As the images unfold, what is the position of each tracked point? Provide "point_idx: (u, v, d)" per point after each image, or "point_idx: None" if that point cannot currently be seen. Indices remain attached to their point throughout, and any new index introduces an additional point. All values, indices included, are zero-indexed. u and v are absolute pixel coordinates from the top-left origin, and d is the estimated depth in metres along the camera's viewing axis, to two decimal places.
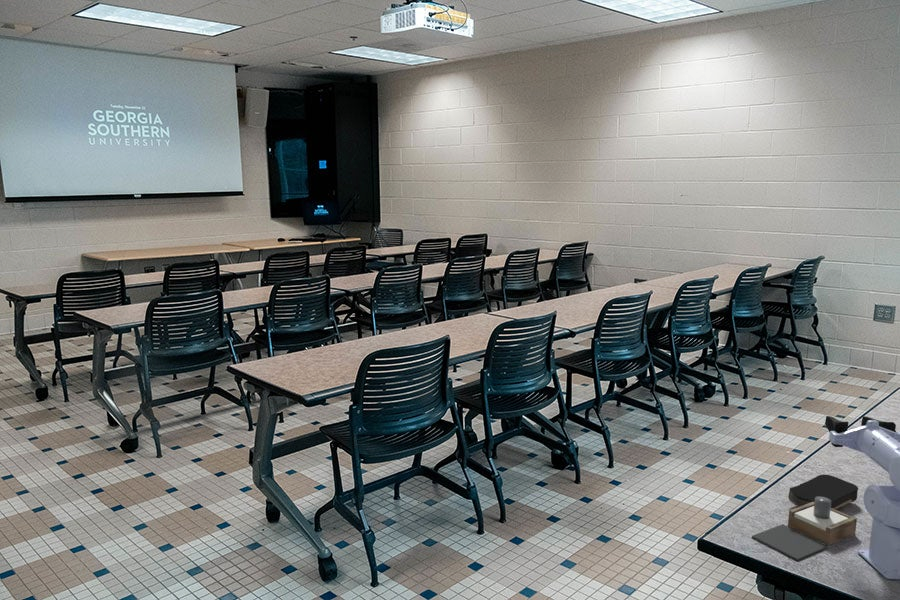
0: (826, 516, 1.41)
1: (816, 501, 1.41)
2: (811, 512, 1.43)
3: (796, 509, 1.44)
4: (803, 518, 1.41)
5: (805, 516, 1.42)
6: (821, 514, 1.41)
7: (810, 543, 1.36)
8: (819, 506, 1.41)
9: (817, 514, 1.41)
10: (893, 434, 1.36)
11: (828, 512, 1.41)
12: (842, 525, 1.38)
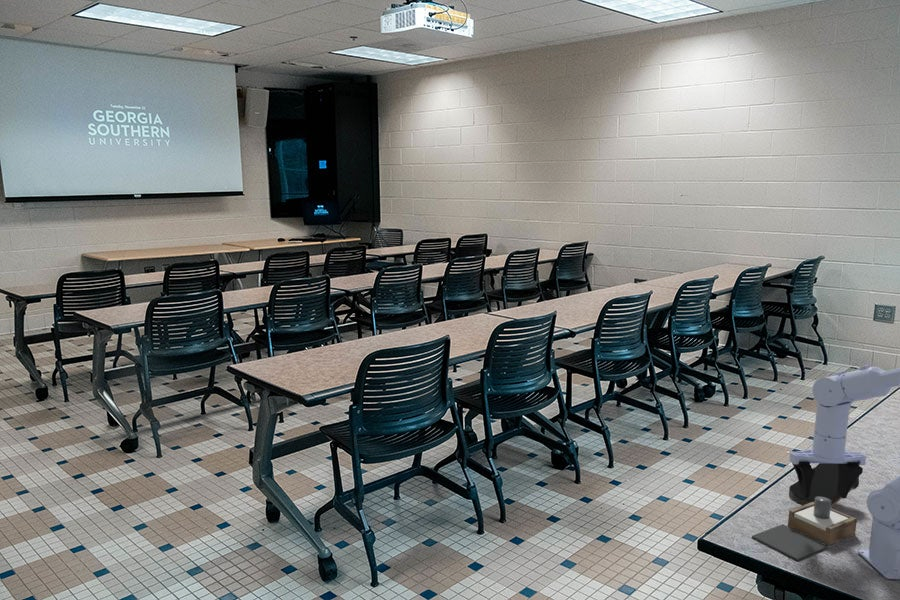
0: (826, 516, 1.41)
1: (816, 501, 1.41)
2: (811, 512, 1.43)
3: (796, 509, 1.44)
4: (803, 518, 1.41)
5: (805, 516, 1.42)
6: (821, 514, 1.41)
7: (810, 543, 1.36)
8: (819, 506, 1.41)
9: (817, 514, 1.41)
10: (846, 453, 1.41)
11: (828, 512, 1.41)
12: (842, 525, 1.38)
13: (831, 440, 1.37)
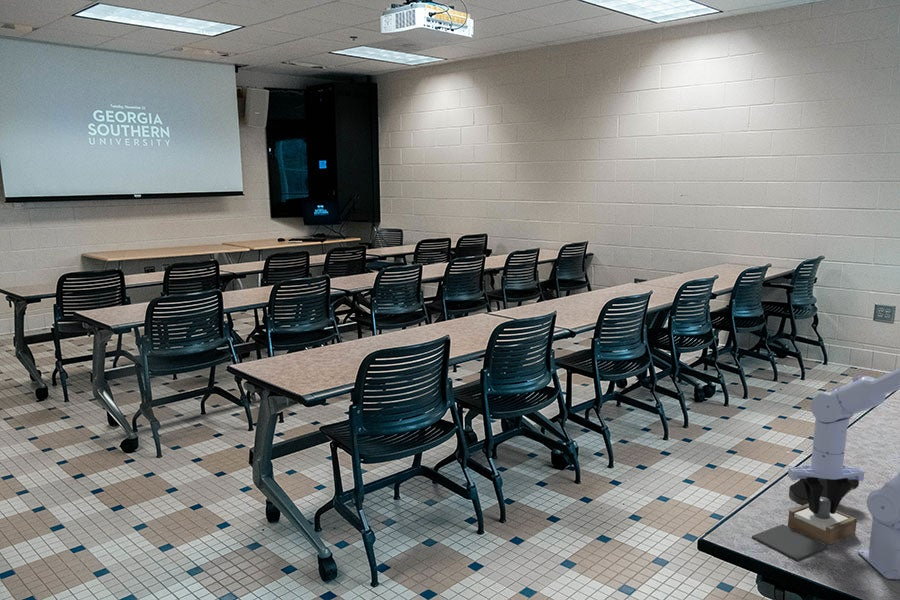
0: (826, 516, 1.41)
1: None
2: (811, 512, 1.43)
3: (796, 509, 1.44)
4: (803, 518, 1.41)
5: (805, 516, 1.42)
6: (821, 514, 1.41)
7: (810, 543, 1.36)
8: (819, 506, 1.41)
9: (817, 514, 1.41)
10: (844, 468, 1.42)
11: (828, 512, 1.41)
12: (842, 525, 1.38)
13: (829, 456, 1.37)
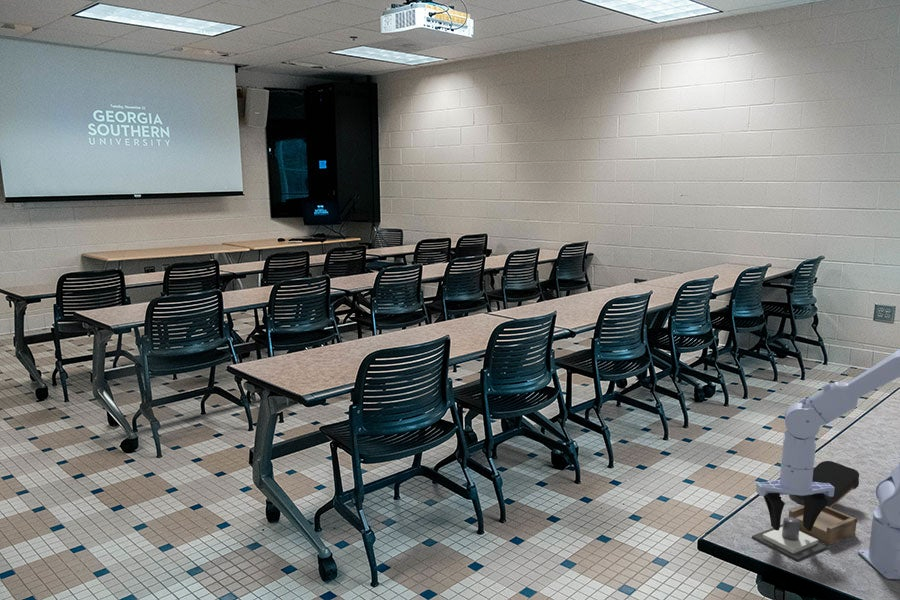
0: (795, 538, 1.36)
1: (784, 522, 1.37)
2: (780, 533, 1.39)
3: (796, 509, 1.44)
4: (771, 540, 1.37)
5: (773, 537, 1.37)
6: (789, 535, 1.36)
7: None
8: (787, 527, 1.36)
9: (786, 536, 1.37)
10: (814, 483, 1.37)
11: (797, 533, 1.36)
12: (842, 525, 1.38)
13: (798, 471, 1.32)
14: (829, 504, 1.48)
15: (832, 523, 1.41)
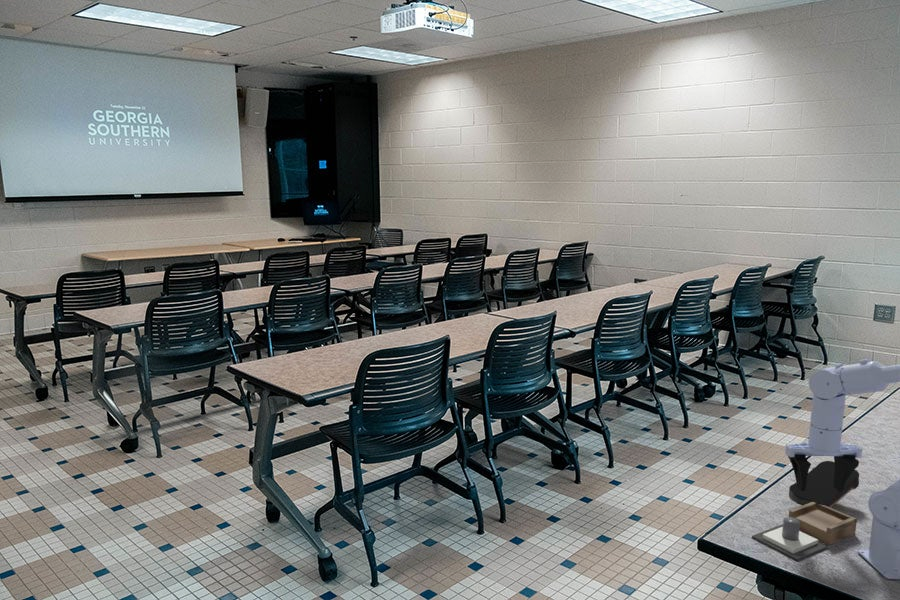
0: (795, 538, 1.36)
1: (784, 522, 1.37)
2: (780, 533, 1.39)
3: (796, 509, 1.44)
4: (771, 540, 1.37)
5: (773, 537, 1.37)
6: (789, 535, 1.36)
7: None
8: (787, 527, 1.36)
9: (786, 536, 1.37)
10: (842, 445, 1.40)
11: (797, 533, 1.36)
12: (842, 525, 1.38)
13: (827, 432, 1.36)
14: (829, 504, 1.48)
15: (832, 523, 1.41)
